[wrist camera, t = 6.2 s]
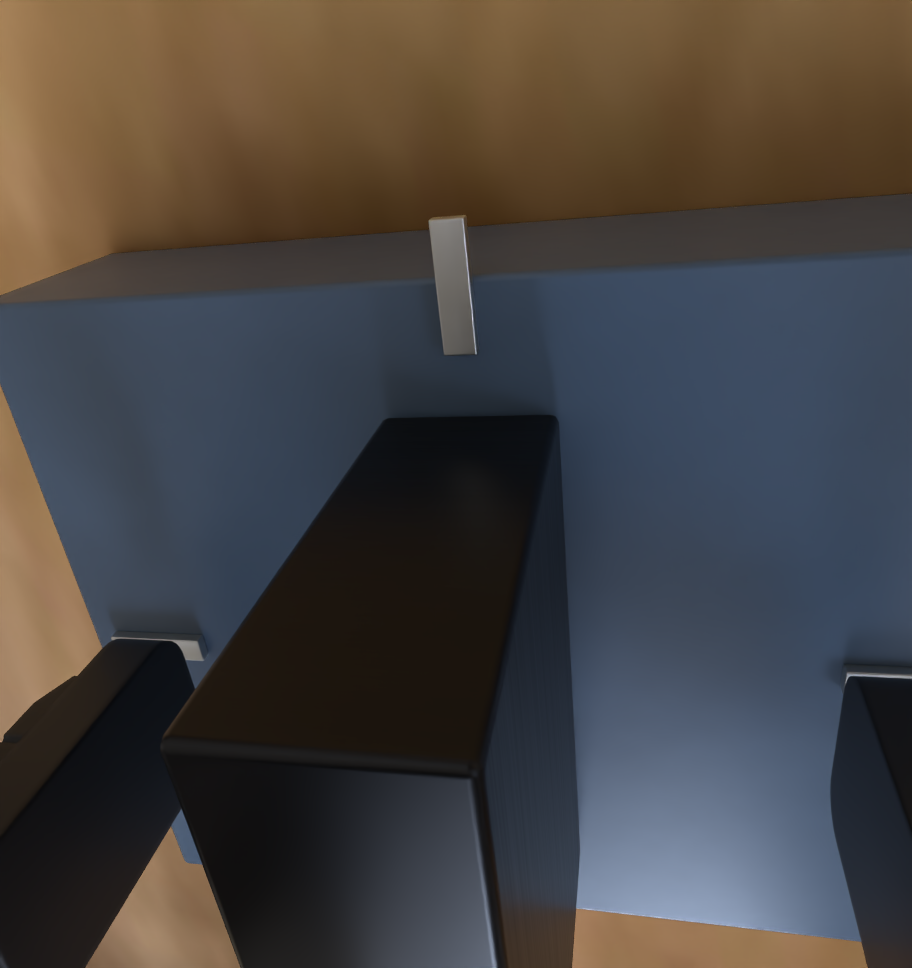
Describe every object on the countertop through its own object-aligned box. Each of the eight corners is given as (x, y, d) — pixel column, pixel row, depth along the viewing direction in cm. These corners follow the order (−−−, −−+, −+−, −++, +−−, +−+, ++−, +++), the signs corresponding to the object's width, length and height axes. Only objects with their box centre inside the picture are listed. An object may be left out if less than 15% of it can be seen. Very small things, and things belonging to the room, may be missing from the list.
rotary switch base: (1214, 111, 9) (1478, 137, 6) (1003, 820, 14) (1093, 1009, 11) (98, 212, 12) (-64, 258, 9) (260, 759, 17) (188, 894, 14)
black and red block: (382, 414, 9) (126, 774, 5) (558, 411, 9) (473, 806, 4) (449, 836, 12) (338, 1295, 8) (580, 850, 12) (546, 1346, 7)
